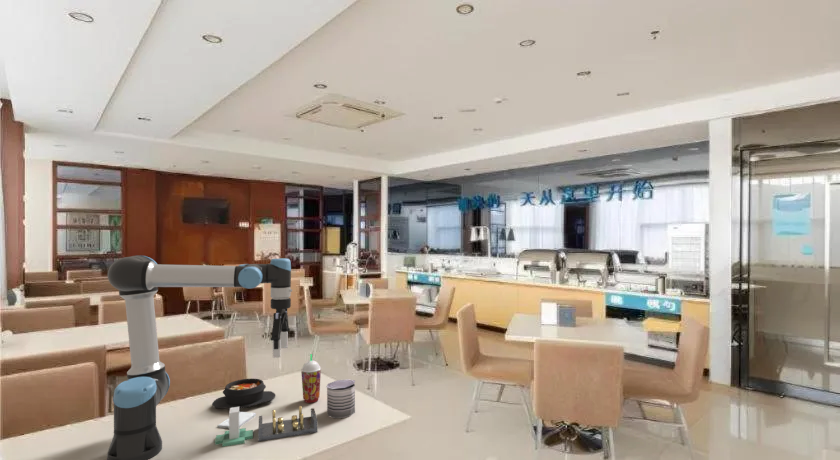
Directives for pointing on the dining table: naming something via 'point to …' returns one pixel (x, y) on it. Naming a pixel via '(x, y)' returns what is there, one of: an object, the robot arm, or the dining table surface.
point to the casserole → (244, 394)
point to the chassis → (287, 426)
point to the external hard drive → (243, 419)
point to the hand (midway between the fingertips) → (280, 352)
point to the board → (234, 441)
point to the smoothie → (311, 380)
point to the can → (341, 398)
